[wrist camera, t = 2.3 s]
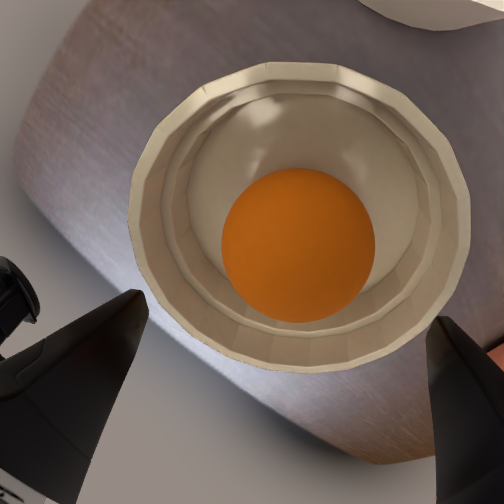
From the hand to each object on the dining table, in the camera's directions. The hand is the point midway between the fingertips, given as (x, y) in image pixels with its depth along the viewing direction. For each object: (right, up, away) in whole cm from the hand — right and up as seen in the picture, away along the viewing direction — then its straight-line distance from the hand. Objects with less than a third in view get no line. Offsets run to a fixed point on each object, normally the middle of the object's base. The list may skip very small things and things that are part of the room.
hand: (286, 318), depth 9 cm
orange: (+1, +4, +6) cm, 7 cm away
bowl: (+1, +4, +6) cm, 8 cm away
